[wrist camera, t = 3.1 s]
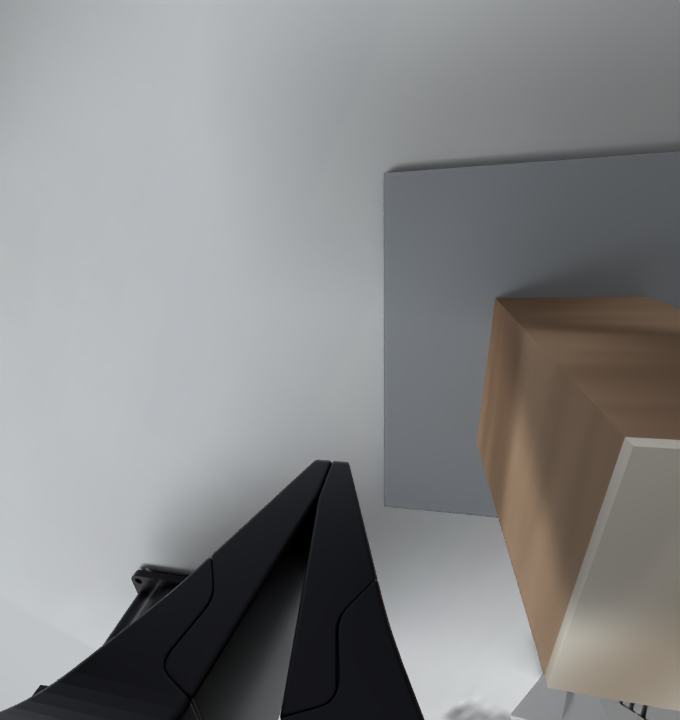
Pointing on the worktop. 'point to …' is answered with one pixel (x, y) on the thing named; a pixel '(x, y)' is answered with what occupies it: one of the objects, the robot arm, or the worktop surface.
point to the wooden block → (590, 486)
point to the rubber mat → (501, 291)
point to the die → (582, 707)
